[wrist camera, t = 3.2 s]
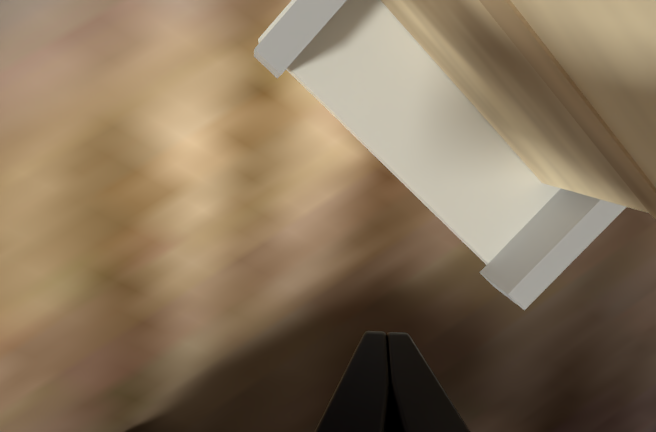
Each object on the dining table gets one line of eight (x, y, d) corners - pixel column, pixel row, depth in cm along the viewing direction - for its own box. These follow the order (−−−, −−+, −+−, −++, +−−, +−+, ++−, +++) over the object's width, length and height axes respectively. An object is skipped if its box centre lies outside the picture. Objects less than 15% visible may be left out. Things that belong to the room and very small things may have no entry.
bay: (487, 282, 23) (558, 337, 17) (248, 53, 18) (246, 33, 13) (757, 4, 21) (923, -27, 16) (573, -321, 17) (721, -516, 11)
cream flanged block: (541, 189, 21) (981, 322, 8) (373, 0, 17) (684, -257, 5) (640, 85, 20) (1269, 59, 8) (488, -129, 17) (1155, -779, 4)
